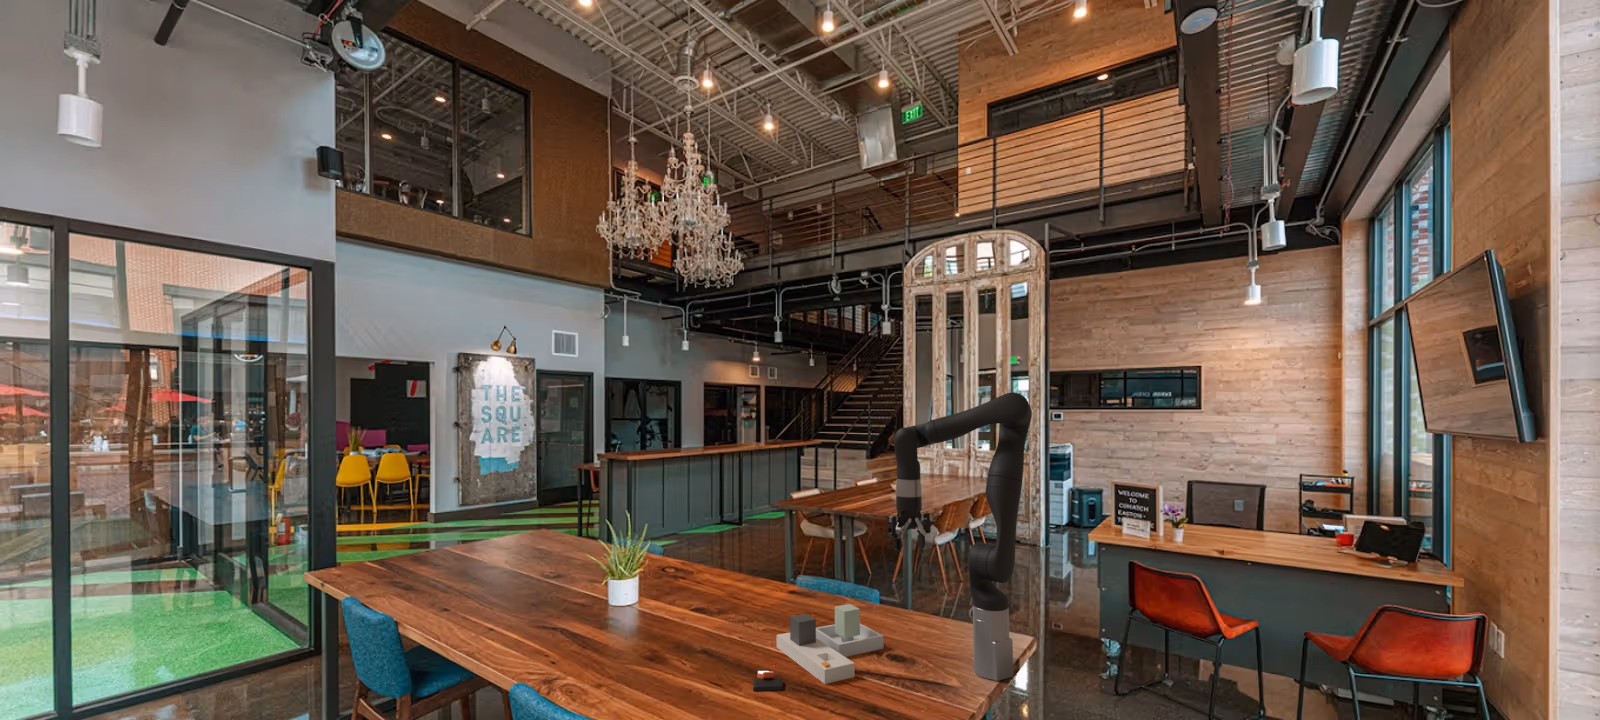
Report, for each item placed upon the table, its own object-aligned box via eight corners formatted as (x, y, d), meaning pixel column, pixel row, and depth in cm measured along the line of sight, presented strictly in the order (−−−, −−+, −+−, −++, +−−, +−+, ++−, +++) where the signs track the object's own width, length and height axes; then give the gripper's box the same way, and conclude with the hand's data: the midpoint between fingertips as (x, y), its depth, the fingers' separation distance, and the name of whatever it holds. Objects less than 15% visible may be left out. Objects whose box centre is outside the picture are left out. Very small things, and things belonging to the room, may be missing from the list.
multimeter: (741, 663, 171) (742, 650, 171) (785, 663, 171) (785, 650, 171) (734, 693, 153) (734, 679, 153) (782, 694, 153) (782, 679, 153)
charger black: (815, 651, 176) (815, 619, 177) (799, 655, 173) (799, 622, 174) (806, 645, 181) (806, 613, 181) (790, 648, 178) (790, 616, 179)
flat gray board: (854, 676, 161) (854, 660, 162) (824, 684, 157) (824, 667, 158) (803, 641, 186) (803, 627, 186) (776, 647, 182) (776, 632, 182)
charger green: (860, 643, 183) (859, 608, 184) (844, 647, 180) (844, 611, 181) (850, 637, 188) (849, 603, 189) (834, 640, 185) (834, 606, 186)
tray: (883, 648, 181) (883, 635, 181) (839, 658, 174) (838, 644, 174) (854, 632, 194) (854, 620, 194) (812, 640, 187) (812, 628, 187)
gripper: (897, 497, 178) (897, 555, 177) (935, 494, 185) (936, 549, 184) (881, 494, 185) (882, 549, 184) (919, 491, 192) (920, 545, 190)
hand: (909, 549), depth 184 cm, fingers open, 8 cm apart
